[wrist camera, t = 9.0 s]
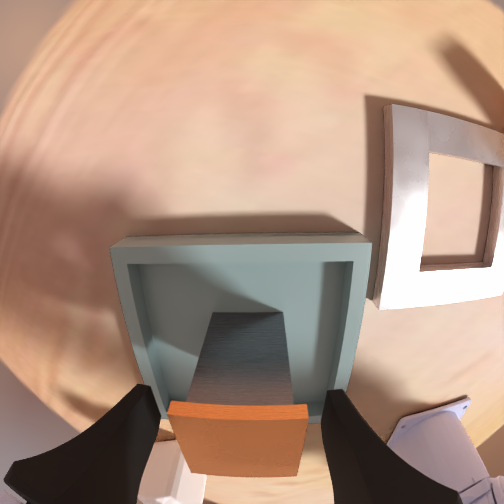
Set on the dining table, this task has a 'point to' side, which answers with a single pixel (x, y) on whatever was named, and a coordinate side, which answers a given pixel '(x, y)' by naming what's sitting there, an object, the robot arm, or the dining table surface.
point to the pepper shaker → (170, 477)
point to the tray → (244, 302)
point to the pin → (241, 401)
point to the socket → (415, 205)
